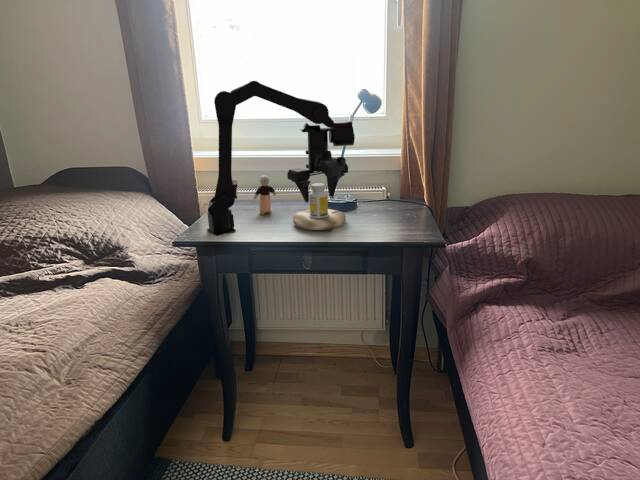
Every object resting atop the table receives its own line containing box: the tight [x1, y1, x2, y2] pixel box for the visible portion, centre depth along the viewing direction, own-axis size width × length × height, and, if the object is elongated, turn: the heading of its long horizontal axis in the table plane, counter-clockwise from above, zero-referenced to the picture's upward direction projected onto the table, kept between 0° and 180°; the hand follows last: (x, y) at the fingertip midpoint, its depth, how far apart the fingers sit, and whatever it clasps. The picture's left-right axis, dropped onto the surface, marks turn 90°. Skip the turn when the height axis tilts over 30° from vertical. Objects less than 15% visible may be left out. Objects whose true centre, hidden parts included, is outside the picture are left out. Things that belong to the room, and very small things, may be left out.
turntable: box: [292, 208, 347, 231], centre depth 140 cm, size 16×16×2 cm
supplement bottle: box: [309, 182, 329, 218], centre depth 138 cm, size 5×5×10 cm
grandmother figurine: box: [253, 175, 277, 216], centre depth 151 cm, size 8×4×13 cm, turn 129°
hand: (319, 199), depth 138 cm, fingers open, 9 cm apart
